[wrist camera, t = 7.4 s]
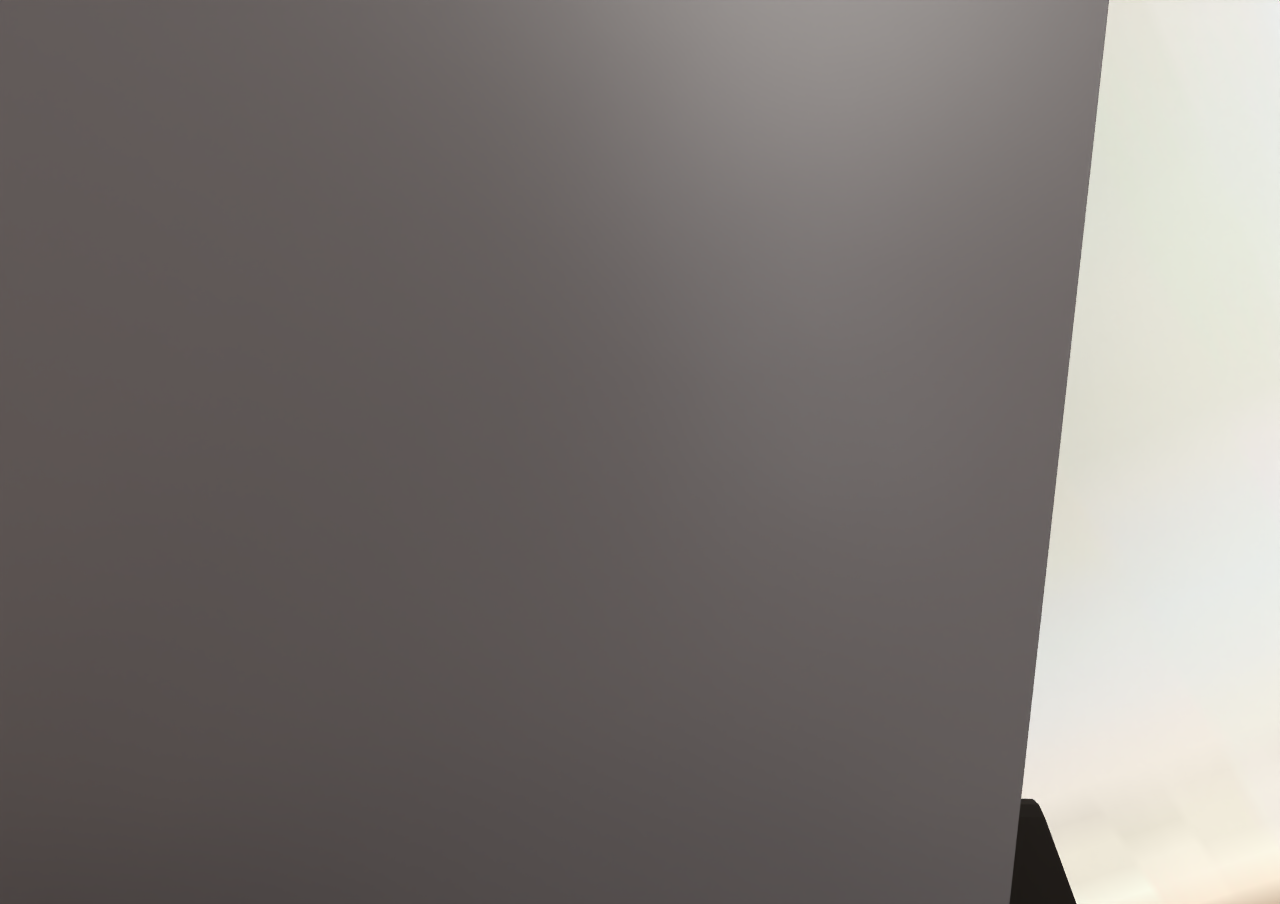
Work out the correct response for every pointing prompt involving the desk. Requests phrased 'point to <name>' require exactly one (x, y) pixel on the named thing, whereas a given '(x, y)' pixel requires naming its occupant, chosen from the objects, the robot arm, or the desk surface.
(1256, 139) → the desk surface
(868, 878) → the dark gray block
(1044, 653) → the desk surface
